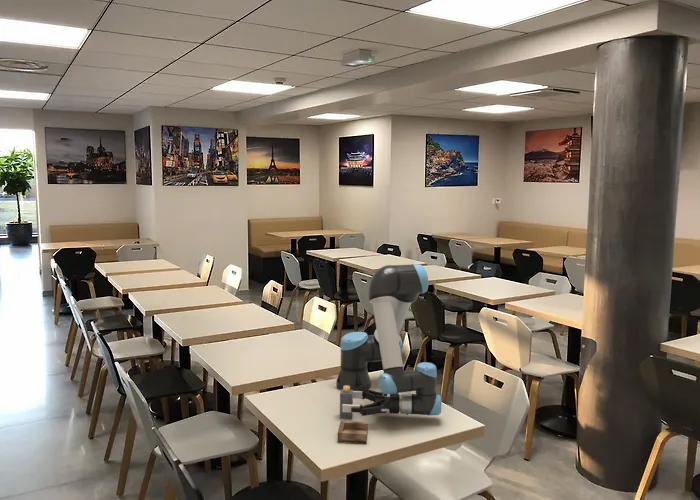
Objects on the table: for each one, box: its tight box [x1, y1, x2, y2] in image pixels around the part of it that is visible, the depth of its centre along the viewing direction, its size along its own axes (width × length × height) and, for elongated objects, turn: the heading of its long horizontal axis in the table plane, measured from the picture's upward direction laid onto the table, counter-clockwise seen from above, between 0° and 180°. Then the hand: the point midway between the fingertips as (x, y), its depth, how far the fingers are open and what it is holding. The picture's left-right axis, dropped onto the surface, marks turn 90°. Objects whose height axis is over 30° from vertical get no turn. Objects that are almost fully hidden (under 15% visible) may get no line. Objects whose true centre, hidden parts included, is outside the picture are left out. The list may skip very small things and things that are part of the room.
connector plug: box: [339, 385, 354, 420], centre depth 217 cm, size 4×4×12 cm
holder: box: [336, 420, 369, 445], centre depth 200 cm, size 10×10×4 cm
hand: (343, 401), depth 216 cm, fingers open, 13 cm apart
